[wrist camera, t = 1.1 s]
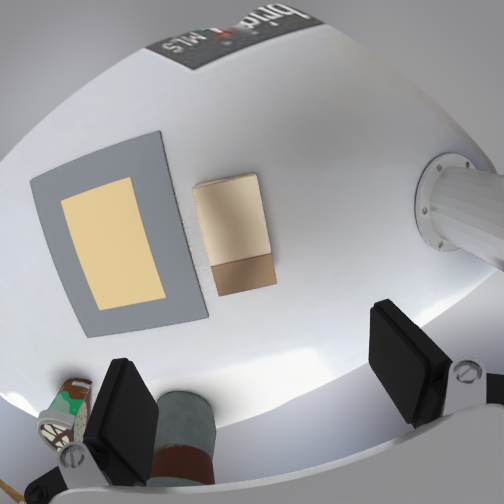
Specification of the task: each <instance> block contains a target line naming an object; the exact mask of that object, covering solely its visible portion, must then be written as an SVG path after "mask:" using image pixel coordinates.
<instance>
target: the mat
mask: <svg viewBox="0 0 504 504" xmlns="http://www.w3.org/2000/svg"><path fill="white" fill-rule="evenodd" d="M30 185H31V190H32V194H33V198H34V202H35V205H36V209H37V213H38V216H39V220H40V223H41V226H42V230H43V233H44V236H45V239H46V242H47V245H48V248H49V251H50V254H51V256H52V259H53V262H54V265H55V267H56V270H57V272H58V275H59V277H60V280H61V282H62V285H63V287H64V290H65V292H66V294H67V297H68V299H69V301H70V303H71V306H72V308H73V310H74V312H75V314H76V316H77V318H78V320H79V323H80V325H81V327H82V329H83V331H84V333H85V335H86V336H87V338H92V337H99V336H106V335H113V334H120V333H126V332H133V331H139V330H145V329H151V328H157V327H163V326H168V325H174V324H179V323H185V322H190V321H195V320H201V319H206V318H208V317H209V315H208V312H207V309H206V306H205V302H204V299H203V296H202V293H201V289H200V286H199V283H198V279H197V276H196V272H195V269H194V266H193V262H192V259H191V255H190V251H189V248H188V244H187V241H186V237H185V233H184V229H183V226H182V222H181V218H180V214H179V210H178V206H177V202H176V198H175V194H174V190H173V186H172V182H171V178H170V173H169V169H168V165H167V160H166V156H165V151H164V147H163V142H162V138H161V133H160V131H157V132H154V133H150V134H147V135H144V136H141V137H137V138H134V139H131V140H128V141H125V142H122V143H119V144H116V145H113V146H111V147H108V148H105V149H102V150H100V151H97V152H94V153H92V154H89V155H86V156H84V157H81V158H79V159H77V160H74V161H72V162H69V163H67V164H65V165H62V166H60V167H58V168H55V169H53V170H51V171H49V172H47V173H44V174H42V175H40V176H38V177H36V178H34V179H32V180H30Z"/></svg>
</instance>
